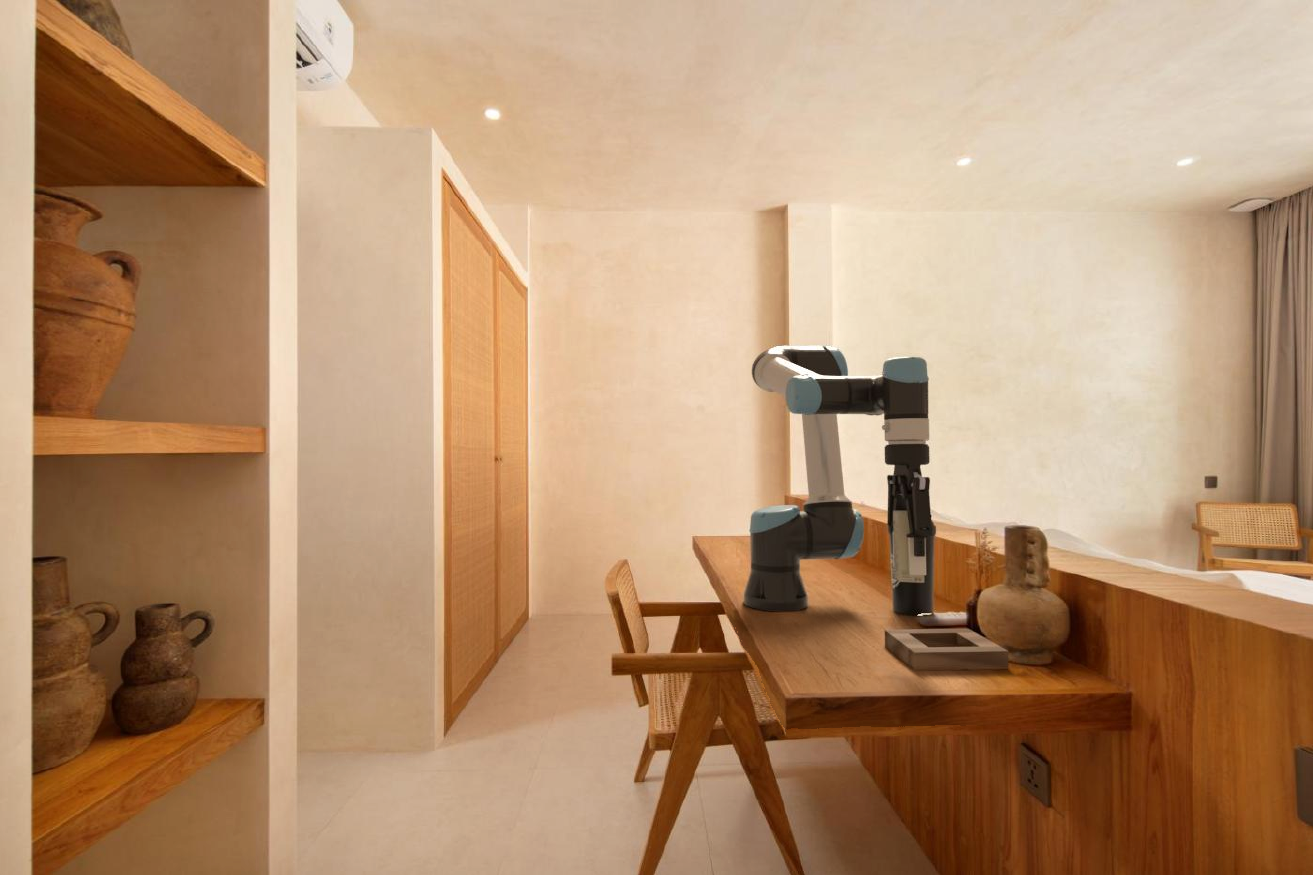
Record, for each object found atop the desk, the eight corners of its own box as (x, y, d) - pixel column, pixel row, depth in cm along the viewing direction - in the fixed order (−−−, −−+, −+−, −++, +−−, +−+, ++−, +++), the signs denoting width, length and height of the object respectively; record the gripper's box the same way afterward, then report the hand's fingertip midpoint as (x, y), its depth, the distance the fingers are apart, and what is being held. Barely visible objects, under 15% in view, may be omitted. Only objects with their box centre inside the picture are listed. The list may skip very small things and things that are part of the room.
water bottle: (884, 605, 147) (883, 508, 147) (929, 606, 145) (928, 508, 146) (894, 616, 137) (893, 512, 137) (943, 618, 135) (941, 513, 136)
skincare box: (925, 583, 108) (924, 513, 108) (898, 582, 109) (897, 513, 109) (918, 576, 114) (917, 509, 114) (893, 575, 115) (892, 509, 115)
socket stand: (884, 645, 117) (884, 629, 117) (968, 644, 117) (968, 628, 117) (914, 670, 104) (914, 652, 104) (1008, 668, 104) (1008, 651, 104)
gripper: (868, 444, 122) (870, 561, 121) (906, 442, 102) (909, 582, 101) (906, 443, 122) (908, 561, 121) (952, 441, 102) (955, 581, 101)
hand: (909, 570), depth 111 cm, fingers closed on skincare box, 7 cm apart
